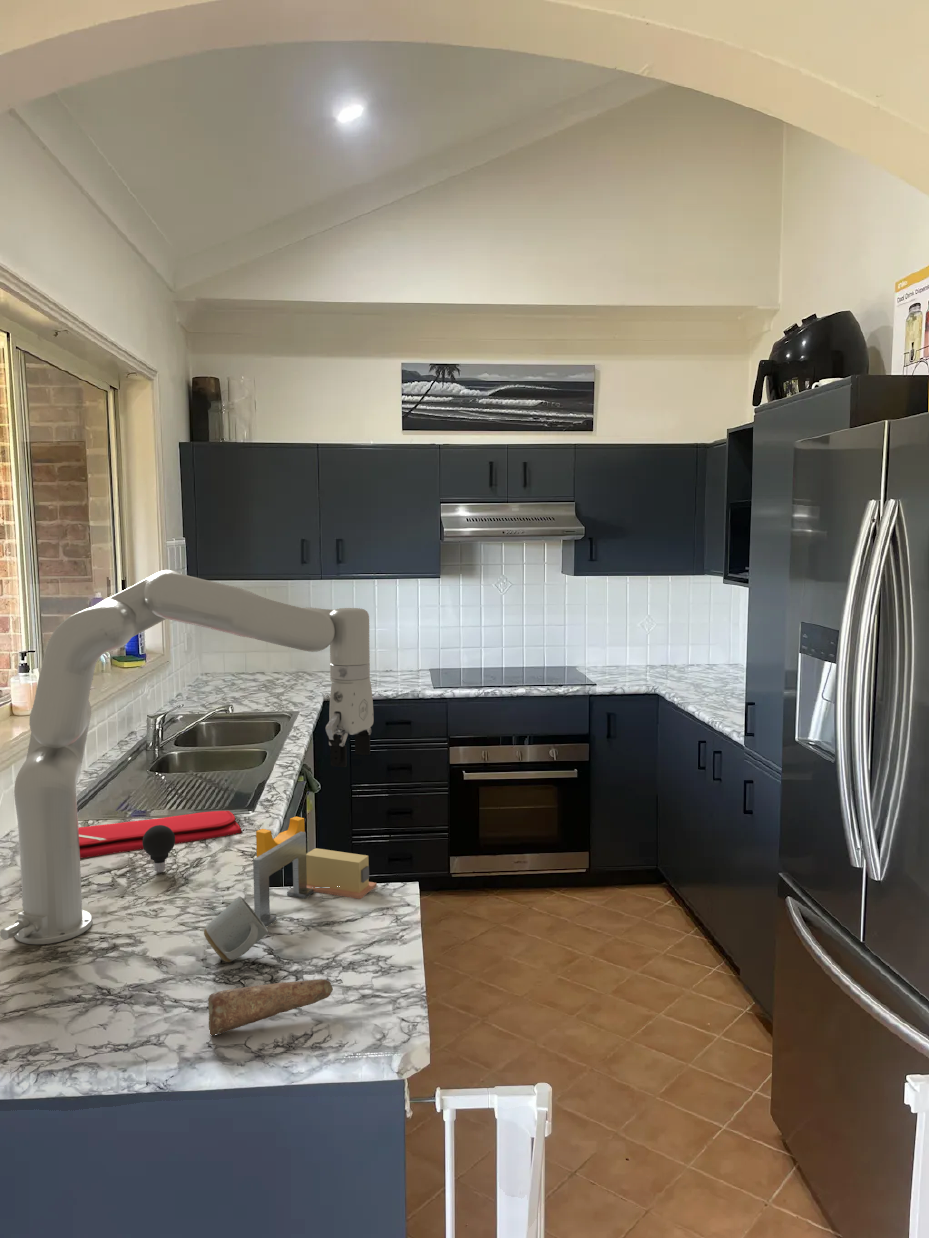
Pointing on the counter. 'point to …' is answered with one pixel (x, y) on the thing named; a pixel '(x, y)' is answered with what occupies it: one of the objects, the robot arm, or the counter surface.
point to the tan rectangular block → (337, 870)
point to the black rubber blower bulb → (159, 845)
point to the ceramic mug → (235, 930)
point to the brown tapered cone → (261, 1002)
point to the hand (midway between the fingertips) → (350, 760)
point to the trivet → (343, 892)
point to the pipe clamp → (266, 840)
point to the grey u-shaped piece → (273, 862)
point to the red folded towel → (132, 832)
